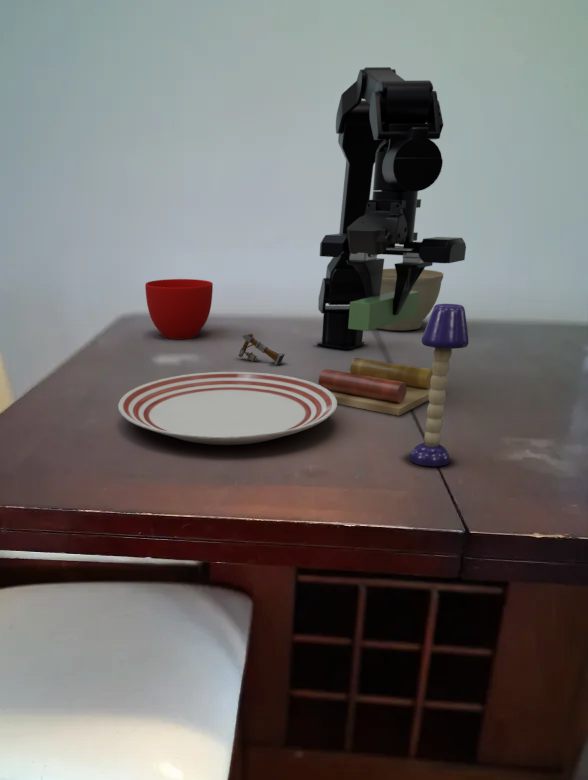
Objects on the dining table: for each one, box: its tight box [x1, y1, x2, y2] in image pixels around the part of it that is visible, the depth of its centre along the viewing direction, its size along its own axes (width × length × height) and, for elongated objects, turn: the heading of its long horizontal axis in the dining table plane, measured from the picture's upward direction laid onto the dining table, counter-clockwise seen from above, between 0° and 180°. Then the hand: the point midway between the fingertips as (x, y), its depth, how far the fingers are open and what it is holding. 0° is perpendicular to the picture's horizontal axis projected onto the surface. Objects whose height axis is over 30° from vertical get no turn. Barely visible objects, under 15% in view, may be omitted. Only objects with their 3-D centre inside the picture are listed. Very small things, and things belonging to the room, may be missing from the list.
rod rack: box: [318, 357, 433, 417], centre depth 105 cm, size 14×14×4 cm
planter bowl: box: [378, 267, 444, 331], centre depth 151 cm, size 16×16×11 cm
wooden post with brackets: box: [238, 332, 286, 366], centre depth 125 cm, size 2×8×4 cm, turn 58°
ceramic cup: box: [144, 278, 214, 340], centre depth 146 cm, size 13×17×10 cm
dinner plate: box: [117, 371, 338, 446], centre depth 94 cm, size 27×27×3 cm
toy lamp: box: [409, 303, 469, 467], centre depth 79 cm, size 5×5×17 cm
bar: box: [348, 291, 419, 332], centre depth 103 cm, size 3×15×4 cm, turn 141°
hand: (384, 313), depth 103 cm, fingers closed on bar, 3 cm apart
